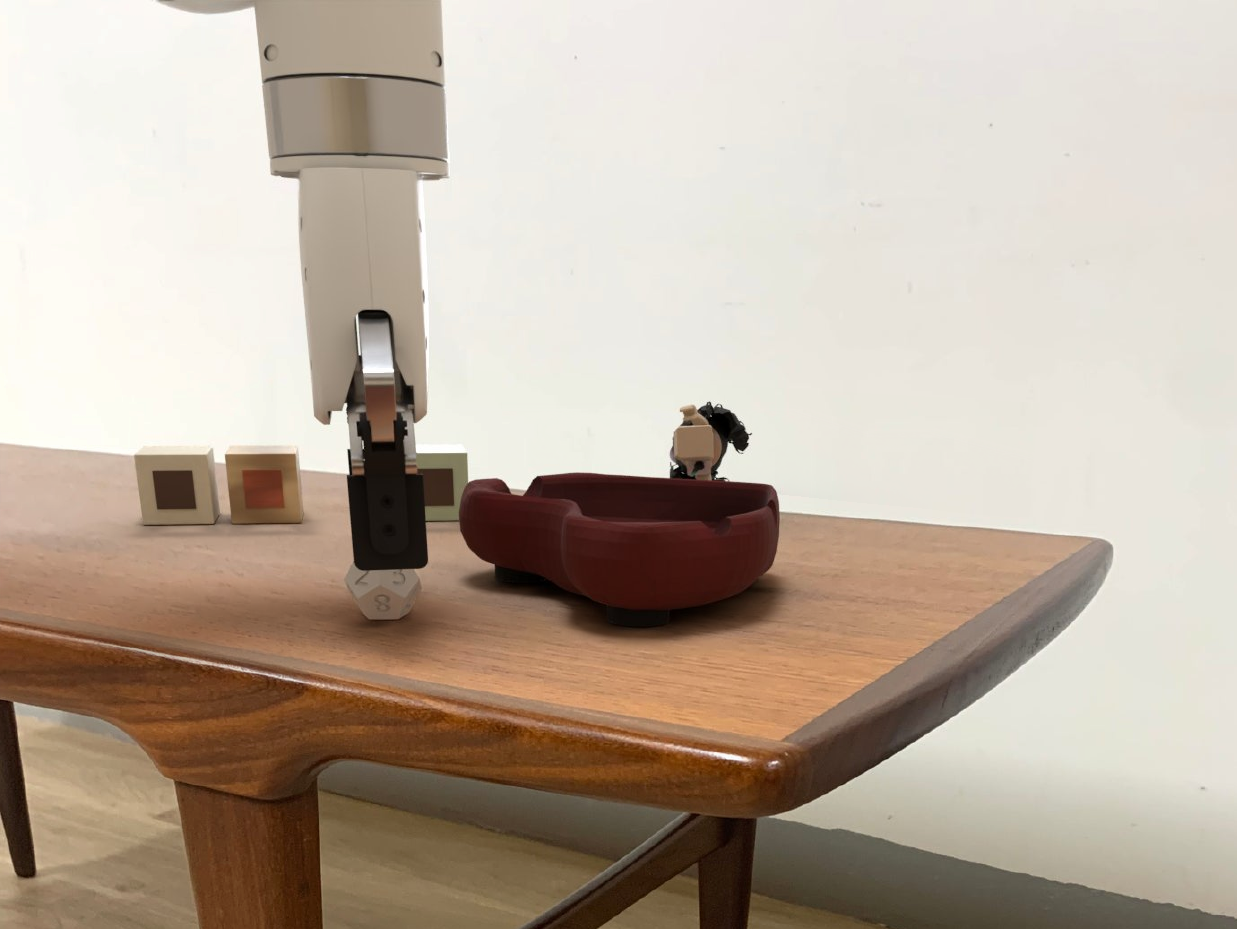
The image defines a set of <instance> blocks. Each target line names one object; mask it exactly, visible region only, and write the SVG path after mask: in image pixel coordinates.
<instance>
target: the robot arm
mask: <svg viewBox="0 0 1237 929" xmlns="http://www.w3.org/2000/svg"><path fill="white" fill-rule="evenodd" d="M151 1H153V2H155V3H158V4H161V5H163V6H166V7H168V8H171V9H174V10H177V11H181V12H183V13H188V14H195V15H205V16H206V15H207V16H209V15H213V16H214V15H223V14H230V13H231V14H232V13H236V12H242V11H247V10H250V9H254V18H255V26H256V35H257V36H256V37H257V45H258V56H259V65H260V66H259V67H260V75H261V83H262V84H261V87H262V98H263V108H264V119H265V129H266V130H265V131H266V139H267V150H268V159H269V160H268V162H269V172H270V175H271V176H274V177H281V178H285V179H294V180H297V226H298V228H297V229H298V245H299V246H298V247H299V260H300V272H301V273H300V274H301V285H302V295H303V296H302V297H303V306H304V317H305V318H304V319H305V328H306V338H307V350H308V360H309V361H308V362H309V371H310V383H311V393H312V394H311V396H312V407H313V409H312V410H313V417H314V418H315V419H316V420H317V421H318V422H320V423H321V424H322V425H324V426H329V425H331V422H332V415H333V412H343V409H344V407H345V404H346V408H345V414H346V422H347V424H348V437H349V448H346V450H347V463H348V474H346V482H347V483H346V484H347V498H348V508H349V520H350V532H351V542H352V556H353V561H354V564H355V566H356V567H357V568H358V569H359V570H362V571H370V570H398V569H414V570H421V569H424V568H425V567H426V566H427V565H428V564H429V550H428V536H427V521H426V517H425V501H424V485H423V474H422V473H418V471H417V455H416V445H417V444H416V436H415V435H416V433H415V424H417V423H419V422H420V421H421V420H423V419H424V418H425V417H426V416H427V413H428V396H429V368H430V366H429V363H430V344H429V343H430V330H429V329H430V322H429V321H430V319H429V318H430V316H429V285H428V262H427V242H426V240H427V239H426V223H425V222H426V220H425V203H424V190H423V189H424V188H423V187H424V186H423V185H424V184H423V182H431V181H440V180H447V179H450V178H451V167H450V166H451V164H450V146H449V127H448V126H449V125H448V110H447V109H448V107H447V91H446V77H445V76H446V75H445V74H446V73H445V57H444V55H445V54H444V53H445V52H444V34H443V31H444V30H443V9H442V8H443V6H442V0H151ZM357 322H358V324H357ZM357 325H358V328H357ZM358 337H359V341H358ZM359 351H360V352H359Z"/></svg>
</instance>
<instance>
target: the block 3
mask: <svg viewBox="0 0 1237 929" xmlns="http://www.w3.org/2000/svg"><path fill="white" fill-rule="evenodd" d="M416 455H417V471H418V473H422V474H423V485H424V501H425V517H426V522H447V521H448V522H449V521H450V522H452V521H457V522H458V521H459V507H460V502H461V496H462V494H463V491H464V488H465V486H466V485H467V484H468V483H469V465H468V464H469V462H468V452H467V450H466V449H465V447H464V446H463V444H416Z"/></svg>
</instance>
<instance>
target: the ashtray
mask: <svg viewBox="0 0 1237 929" xmlns="http://www.w3.org/2000/svg"><path fill="white" fill-rule="evenodd" d="M780 514H781V513H780V501H779V497H778V492H777V490H776V489H775V487H774V486H773V485H771V484H769V483H759V482H745V481H731V480H729V481H728V480H725V481H714V480H696V479H677V478H670V477H657V476H656V477H655V476H654V477H653V476H642V475H641V476H639V475H624V474H609V473H607V474H605V473H597V472H577V471H576V472H565V473H555V474H554V473H553V474H543V475H536V476H535V478H533V479H532V481H531V483H530V484H529V486H528V487H527V489H526V491H525V492H524V493H523V495H519V494H516V493H515V494H513V493H512V492H511V490H510V487H509V486H508V485H507V483H506V482H505V481H504V480H503V479H501V478H497V477H494V478H493V477H492V478H478V479H473V480H470V481H468V484H467V485H466V486H465V488H464V491H463V494H462V496H461V502H460V507H459V532H460V533H461V536H462V538H463V539H464V542H465V544H466V546H467V548H468V549H469V550H470V551H471V552H472V553H473V554H474V555H476V557H478V559H480V560H482V561H483V562H486V563H488V564H491V565H494V579H496V580H497V581H501V582H506V583H512V584H513V583H515V584H531V583H540V582H545V581H547V580H548V581H549V582H552V583H553V584H555V585H556V586H557V587H559V588H561V589H563V590H565V591H567V592H570V593H572V594H576V595H580V596H585V597H587V598H589V599H590V600H592V601H593V602H597V603H599V604H602V605H606V620H607V621H608V622H609V623H611V624H614V625H617V626H623V627H632V628H633V627H634V628H644V627H645V628H647V627H648V628H649V627H657V626H661V625H665V624H667V623H669V621H670V614H671V612H670V611H671V610H681V609H682V610H683V609H687V608H694V607H699V606H704V605H708V604H712V603H715V602H718V601H721V600H725V599H728V598H732V597H733V596H735V595H738V594H740V593H742V592H744V591H745V590H746V589H748V588H749V587H751V586H752V584H753V583H755V582H756V581H757V580H758V579H759V578H761V577H763V575H765V574H766V573H767V572H769V571H770V569H771V568H772V566H773V565H774V562H775V558H776V555H777V552H778V545H779V538H780V524H781V522H780V521H781V520H780V519H781V517H780Z"/></svg>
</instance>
